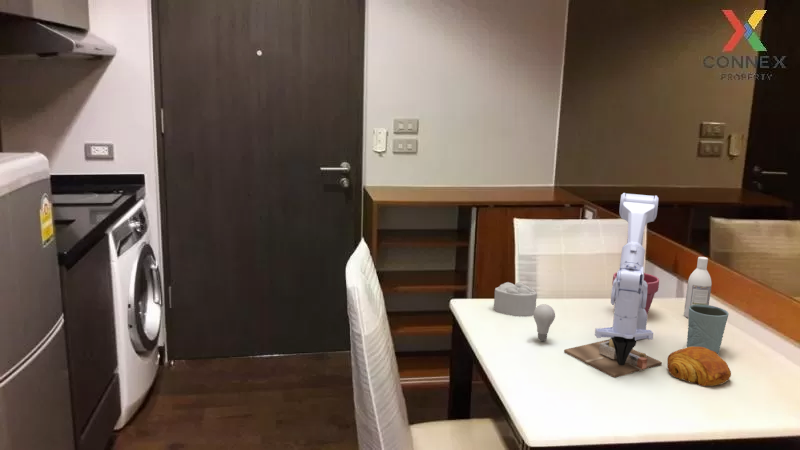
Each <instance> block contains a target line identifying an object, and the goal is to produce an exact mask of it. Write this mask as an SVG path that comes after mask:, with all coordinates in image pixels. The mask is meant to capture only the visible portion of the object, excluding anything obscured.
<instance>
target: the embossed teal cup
mask: <svg viewBox="0 0 800 450" xmlns="http://www.w3.org/2000/svg"><path fill="white" fill-rule="evenodd" d="M729 315H730V314H729V312H728V311H727V310H726V309H724V308H721V307H718V306H714V305H710V304H709V305H701V304H696V305H691V306H689V318H687V319H688V322H687V323H688V325H687V327H688V328H687V337H686V338H687V339H686V348H687V347H693V346H694V347H704V348H707V349H709V350H711V351H714V352H716V353H717V354H718V355H719V354H720V352H721V351H720V350H721V345H722V342H723V337H724V333H725V329H726V325H727V322H728V319H729V318H728V317H729Z"/></svg>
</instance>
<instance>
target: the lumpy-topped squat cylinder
mask: <svg viewBox="0 0 800 450" xmlns="http://www.w3.org/2000/svg"><path fill="white" fill-rule="evenodd" d="M537 296H538V294H537V291H536V290H535V289H533V288H532V287H530V286H528V285H526V284H525V283H523V282H515V284H514V283H513V282H509V281H507V282H504V283H501V284H499V286H498V287H495V289H494V298H493V301H494V302H493V311H494V312H496V313H498V314H499V313H500V314H503V315H507V316H512V317H533V313H534V310H535V308H536V307H537Z"/></svg>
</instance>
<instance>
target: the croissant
mask: <svg viewBox="0 0 800 450" xmlns="http://www.w3.org/2000/svg"><path fill="white" fill-rule="evenodd" d="M666 362H667V364H666V367H667V371H668V373H670V375H671V376H673V377H674V378H676V379H679V380H682V381H685V382H689V383H692V384H696V385H698V386H701V387H714V386H720V385H723V384H725V383H726V382H728V381H729V380H730V378H731V376H732V372H731V370H730V367H729V364H728V362H726V360H724V359H723V358H722V357H721V356H719V354H717V353H716V352H714V351H711V350H709V349H707V348H704V347H694V346H693V347H687V346H686V347H685V348H679V349H678V350H675V351H673V352H671V353H670V354H669V355H668V356H667V359H666Z"/></svg>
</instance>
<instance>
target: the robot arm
mask: <svg viewBox="0 0 800 450" xmlns="http://www.w3.org/2000/svg"><path fill="white" fill-rule="evenodd" d="M619 202H620V203H619V217H620V219H622V220H624V221H626V222H627V242H626V244H624V245H623V246H622V247H621V254H620V261H619V262H620V263H619V268H618V269H617V278H615V280H614V281H613V280H612V282H613V285H612V287H611V293H610V304H611V305H612V306H614V307H613V308H614V311H613V312H614V313H613V322H612V326H611V327H602V328H601V327H599V328H597V327H596V328H595V329H594V337H596V338H597V339H601V338H610V339H612V341H613V344H614V347H615V351H616V356H617V363H618V364H619V365H625V362H626V359H627V357H628V355H629V353H630V352H631V350H632V349H634V347H636V345H637V341H640V340H643V339H647V340H649V341H650V340H654V332H653V331H652V330H651V329H647V324H648V314H647V313H646V311H645V309H644V308H646V300H647V286H648V285H647V282H646V281H644V273H645V271H644V270H645V269H644V268H645V267H644V262H645V256H646V255H645V254H646V250H645V248H644V246H643V244H644V243H643V242H644V234H645V233H644V231H645V227H646V225H648V223H651V222H655V220H656V219H657V215H658V209H659V207H658V206H659V197H658V195H648V194H647V195H646V194H636V193H626V192H623V193H622V194H620V201H619Z"/></svg>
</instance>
